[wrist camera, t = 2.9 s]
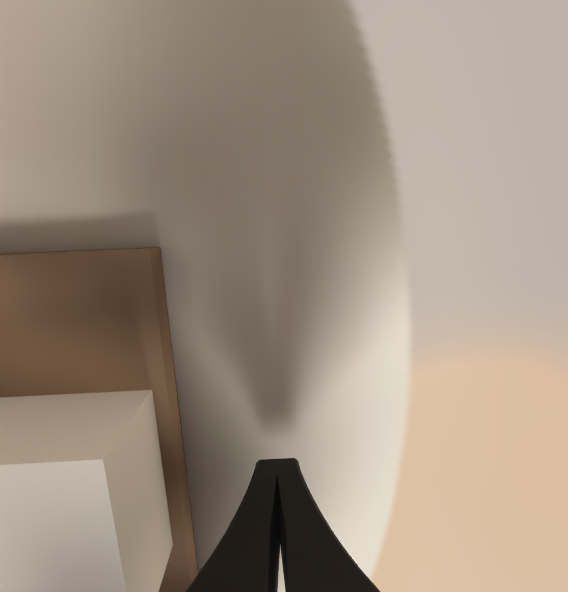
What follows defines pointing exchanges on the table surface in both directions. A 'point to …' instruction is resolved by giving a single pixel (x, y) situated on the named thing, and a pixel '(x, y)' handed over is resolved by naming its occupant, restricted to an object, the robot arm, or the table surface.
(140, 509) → the carton
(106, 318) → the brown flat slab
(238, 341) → the table surface
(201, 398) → the table surface
